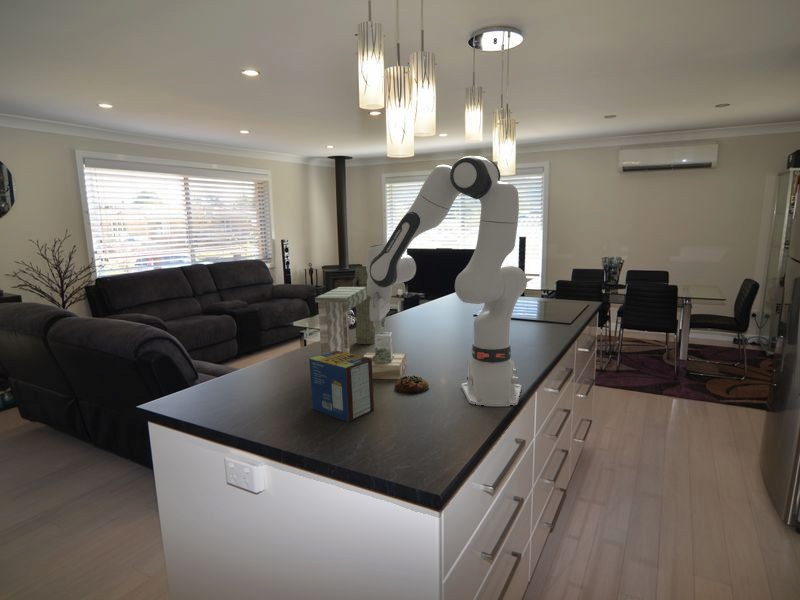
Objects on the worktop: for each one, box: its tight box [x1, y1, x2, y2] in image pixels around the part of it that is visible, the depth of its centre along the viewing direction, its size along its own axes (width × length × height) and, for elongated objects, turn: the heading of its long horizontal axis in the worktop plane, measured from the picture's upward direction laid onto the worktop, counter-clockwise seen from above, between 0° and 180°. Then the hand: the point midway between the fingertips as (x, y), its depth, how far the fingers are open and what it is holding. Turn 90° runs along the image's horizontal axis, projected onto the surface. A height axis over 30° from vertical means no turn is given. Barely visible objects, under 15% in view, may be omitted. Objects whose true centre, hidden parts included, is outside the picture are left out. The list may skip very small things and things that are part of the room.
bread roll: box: [394, 375, 430, 395], centre depth 145 cm, size 11×11×5 cm
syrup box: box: [374, 331, 393, 362], centre depth 161 cm, size 6×6×14 cm
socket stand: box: [314, 286, 407, 380], centre depth 161 cm, size 28×26×30 cm
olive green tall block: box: [352, 265, 376, 345], centre depth 203 cm, size 9×12×35 cm
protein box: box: [308, 350, 375, 423], centre depth 128 cm, size 10×15×16 cm
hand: (380, 328), depth 160 cm, fingers open, 5 cm apart
